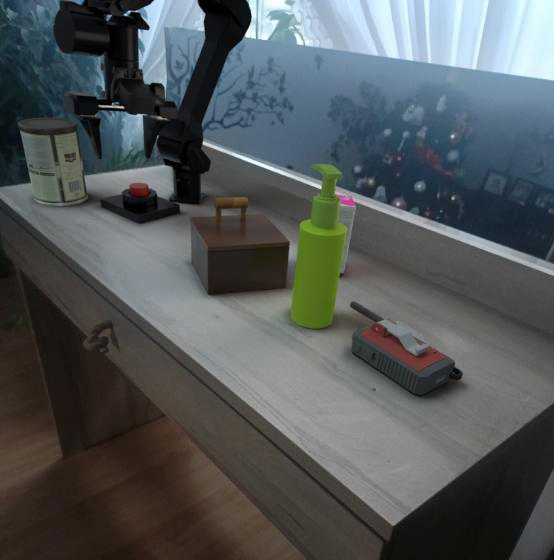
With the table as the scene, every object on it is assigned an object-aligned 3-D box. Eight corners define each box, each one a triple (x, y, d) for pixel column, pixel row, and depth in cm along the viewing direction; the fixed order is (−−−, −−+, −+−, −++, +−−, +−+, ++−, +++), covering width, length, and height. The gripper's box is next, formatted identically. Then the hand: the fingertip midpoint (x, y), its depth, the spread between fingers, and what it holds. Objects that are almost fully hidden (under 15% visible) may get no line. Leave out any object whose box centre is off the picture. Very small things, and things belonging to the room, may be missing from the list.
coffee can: (48, 188, 108) (35, 114, 100) (96, 193, 108) (86, 120, 99) (23, 203, 100) (6, 124, 91) (74, 209, 99) (62, 130, 91)
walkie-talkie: (470, 379, 62) (354, 309, 74) (482, 349, 60) (360, 282, 72) (424, 404, 57) (309, 325, 70) (434, 372, 55) (312, 296, 67)
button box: (142, 197, 108) (140, 180, 106) (180, 213, 102) (179, 195, 100) (100, 207, 101) (98, 189, 99) (139, 224, 95) (137, 205, 93)
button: (141, 190, 102) (140, 181, 101) (152, 195, 100) (152, 186, 99) (126, 193, 99) (125, 184, 98) (137, 198, 98) (137, 189, 97)
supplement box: (344, 276, 83) (356, 206, 77) (308, 273, 83) (317, 203, 77) (341, 262, 88) (352, 194, 82) (307, 259, 88) (315, 191, 81)
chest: (191, 263, 83) (190, 223, 79) (262, 258, 87) (265, 219, 83) (207, 295, 75) (207, 252, 71) (285, 287, 79) (289, 246, 75)
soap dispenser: (320, 302, 75) (340, 160, 64) (339, 326, 70) (364, 175, 59) (282, 306, 74) (295, 160, 62) (299, 330, 68) (317, 176, 57)
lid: (189, 221, 80) (188, 195, 78) (263, 217, 84) (265, 192, 81) (207, 251, 71) (207, 222, 69) (289, 246, 75) (292, 218, 72)
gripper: (83, 58, 75) (90, 170, 83) (195, 70, 86) (191, 168, 94) (57, 51, 82) (66, 155, 90) (163, 63, 93) (162, 154, 101)
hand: (124, 158), depth 93 cm, fingers open, 9 cm apart
